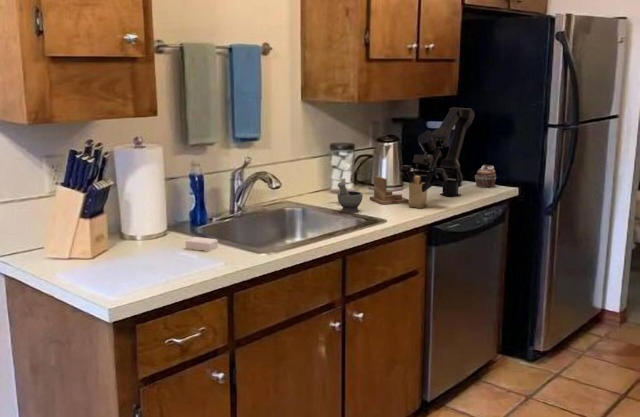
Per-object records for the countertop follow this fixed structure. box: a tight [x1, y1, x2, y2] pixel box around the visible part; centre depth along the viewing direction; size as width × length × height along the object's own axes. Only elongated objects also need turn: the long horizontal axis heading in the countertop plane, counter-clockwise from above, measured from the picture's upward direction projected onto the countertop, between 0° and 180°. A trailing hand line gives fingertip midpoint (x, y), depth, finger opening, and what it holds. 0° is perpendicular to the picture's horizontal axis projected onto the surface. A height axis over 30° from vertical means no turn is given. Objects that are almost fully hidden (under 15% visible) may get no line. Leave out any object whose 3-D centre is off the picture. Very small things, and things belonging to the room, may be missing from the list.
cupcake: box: [474, 164, 497, 189], centre depth 307 cm, size 10×10×10 cm
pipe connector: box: [330, 177, 357, 194], centre depth 274 cm, size 10×10×10 cm
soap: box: [185, 236, 219, 252], centre depth 209 cm, size 9×6×3 cm, turn 65°
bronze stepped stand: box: [369, 175, 409, 206], centre depth 276 cm, size 12×12×10 cm
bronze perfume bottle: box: [408, 175, 428, 209], centre depth 264 cm, size 4×6×12 cm
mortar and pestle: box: [337, 181, 364, 214], centre depth 258 cm, size 11×9×12 cm
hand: (416, 190), depth 263 cm, fingers closed on bronze perfume bottle, 5 cm apart
